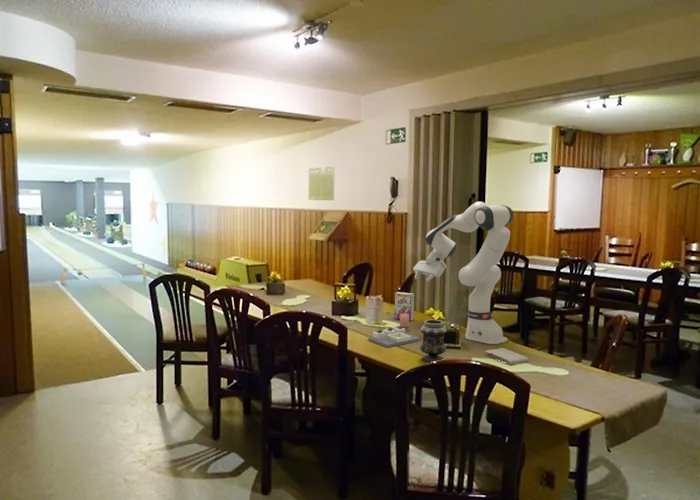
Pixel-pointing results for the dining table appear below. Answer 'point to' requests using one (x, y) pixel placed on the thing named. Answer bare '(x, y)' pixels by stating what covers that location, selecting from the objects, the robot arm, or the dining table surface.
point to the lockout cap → (404, 321)
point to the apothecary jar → (433, 340)
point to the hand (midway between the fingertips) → (421, 279)
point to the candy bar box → (404, 305)
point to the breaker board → (392, 337)
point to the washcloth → (506, 356)
